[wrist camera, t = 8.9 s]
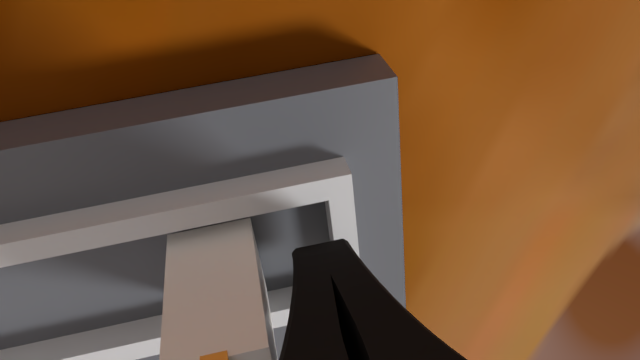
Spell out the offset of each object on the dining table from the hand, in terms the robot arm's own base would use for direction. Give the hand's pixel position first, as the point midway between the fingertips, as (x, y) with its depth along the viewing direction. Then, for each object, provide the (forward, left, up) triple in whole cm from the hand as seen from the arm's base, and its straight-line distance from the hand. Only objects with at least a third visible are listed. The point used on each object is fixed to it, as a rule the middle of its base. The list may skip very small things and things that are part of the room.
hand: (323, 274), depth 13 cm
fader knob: (0, +2, -1) cm, 3 cm away
